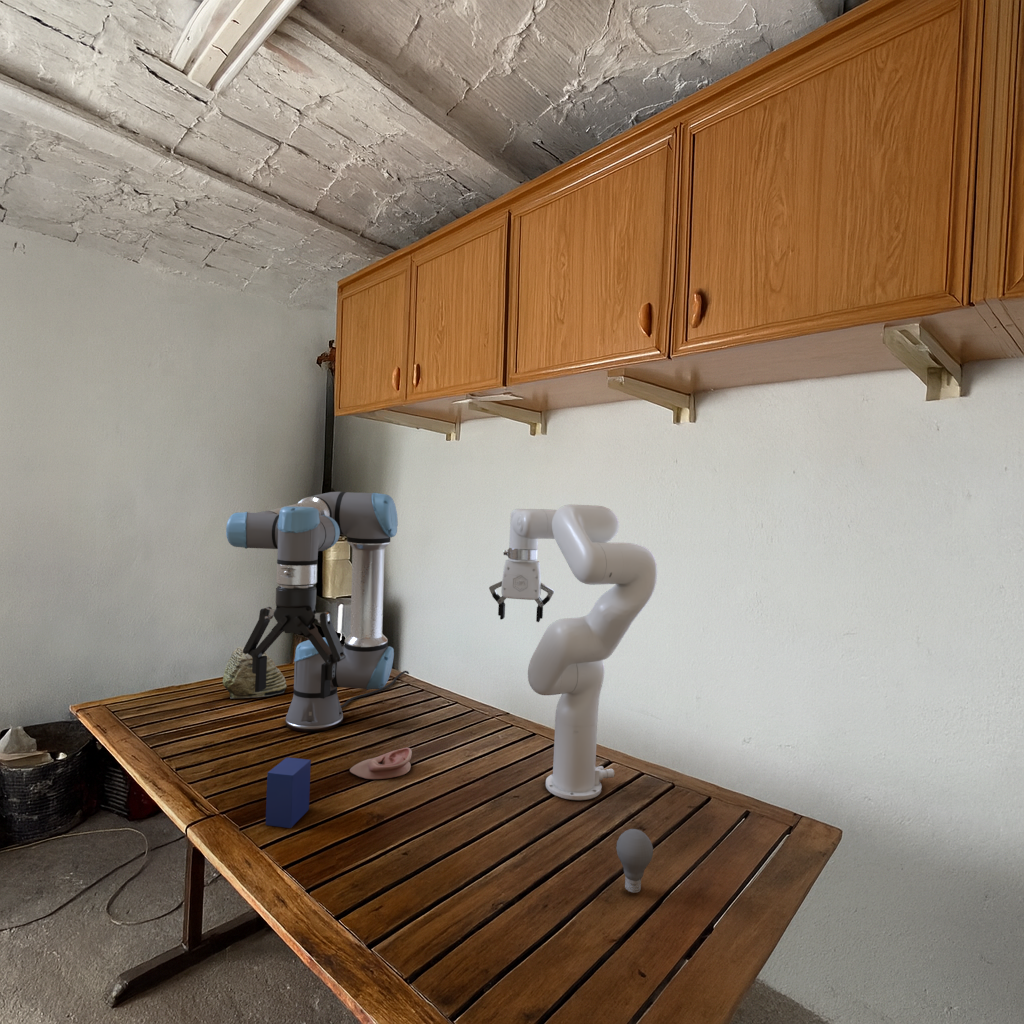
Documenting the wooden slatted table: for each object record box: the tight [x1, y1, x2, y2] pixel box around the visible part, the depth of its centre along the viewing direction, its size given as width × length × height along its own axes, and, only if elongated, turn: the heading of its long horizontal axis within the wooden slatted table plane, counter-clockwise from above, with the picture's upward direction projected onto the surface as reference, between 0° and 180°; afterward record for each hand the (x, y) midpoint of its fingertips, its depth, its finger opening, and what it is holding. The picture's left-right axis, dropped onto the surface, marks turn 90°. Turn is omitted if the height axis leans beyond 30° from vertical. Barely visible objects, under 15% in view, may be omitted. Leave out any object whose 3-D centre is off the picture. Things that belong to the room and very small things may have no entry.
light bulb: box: [615, 828, 654, 894], centre depth 106 cm, size 6×6×10 cm
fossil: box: [222, 646, 288, 699], centre depth 198 cm, size 9×18×15 cm, turn 132°
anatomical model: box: [349, 747, 413, 780], centre depth 148 cm, size 13×4×12 cm
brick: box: [265, 756, 312, 829], centre depth 125 cm, size 5×8×10 cm
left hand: (292, 693), depth 124 cm, fingers open, 13 cm apart
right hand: (520, 619), depth 168 cm, fingers open, 9 cm apart
